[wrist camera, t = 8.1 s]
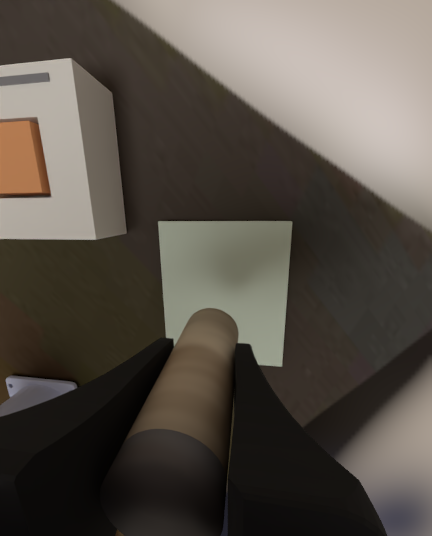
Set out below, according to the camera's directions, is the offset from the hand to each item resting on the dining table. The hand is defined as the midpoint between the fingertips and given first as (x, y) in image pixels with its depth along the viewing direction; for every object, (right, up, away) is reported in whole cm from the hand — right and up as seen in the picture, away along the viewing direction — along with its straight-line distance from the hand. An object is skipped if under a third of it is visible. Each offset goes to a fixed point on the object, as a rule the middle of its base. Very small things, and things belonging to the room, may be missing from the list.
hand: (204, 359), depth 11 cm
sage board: (+1, +2, +8) cm, 9 cm away
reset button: (-12, +12, +6) cm, 18 cm away
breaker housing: (-12, +12, +7) cm, 19 cm away
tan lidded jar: (0, +1, +2) cm, 2 cm away
